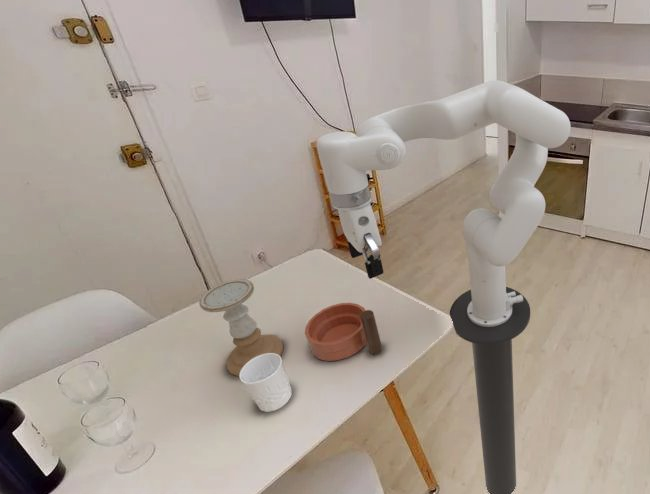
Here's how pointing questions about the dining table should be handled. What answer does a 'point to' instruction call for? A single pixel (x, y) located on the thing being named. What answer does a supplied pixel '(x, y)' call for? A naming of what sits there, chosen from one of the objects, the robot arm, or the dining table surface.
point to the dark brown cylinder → (371, 332)
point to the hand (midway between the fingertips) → (367, 265)
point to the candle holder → (240, 323)
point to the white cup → (266, 381)
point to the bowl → (336, 332)
